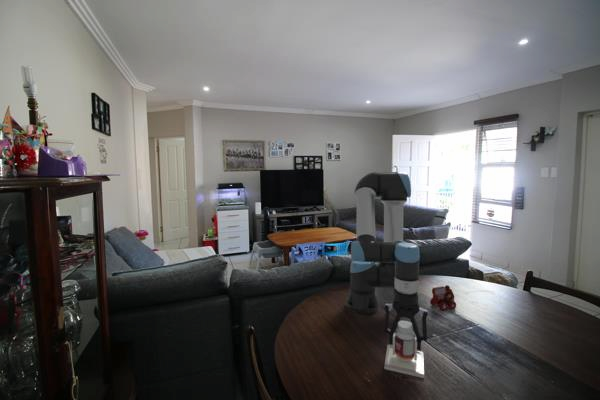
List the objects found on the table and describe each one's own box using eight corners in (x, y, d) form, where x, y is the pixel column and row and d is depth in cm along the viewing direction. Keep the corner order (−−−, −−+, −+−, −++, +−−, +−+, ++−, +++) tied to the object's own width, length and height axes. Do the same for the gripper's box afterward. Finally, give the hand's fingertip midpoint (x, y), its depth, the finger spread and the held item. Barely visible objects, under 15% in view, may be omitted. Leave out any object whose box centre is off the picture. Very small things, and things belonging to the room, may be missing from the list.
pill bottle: (392, 350, 99) (392, 320, 98) (408, 349, 99) (409, 318, 98) (399, 362, 93) (400, 329, 91) (417, 360, 93) (418, 328, 92)
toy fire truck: (459, 308, 133) (460, 287, 132) (438, 312, 129) (439, 291, 128) (447, 302, 140) (448, 282, 139) (427, 306, 136) (427, 285, 135)
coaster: (384, 368, 93) (384, 365, 93) (387, 347, 104) (387, 344, 104) (424, 378, 88) (424, 374, 88) (422, 355, 99) (423, 351, 99)
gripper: (375, 290, 94) (374, 355, 96) (439, 299, 87) (436, 369, 89) (377, 282, 101) (376, 343, 103) (437, 289, 94) (434, 355, 96)
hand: (404, 355), depth 96 cm, fingers closed on pill bottle, 6 cm apart
